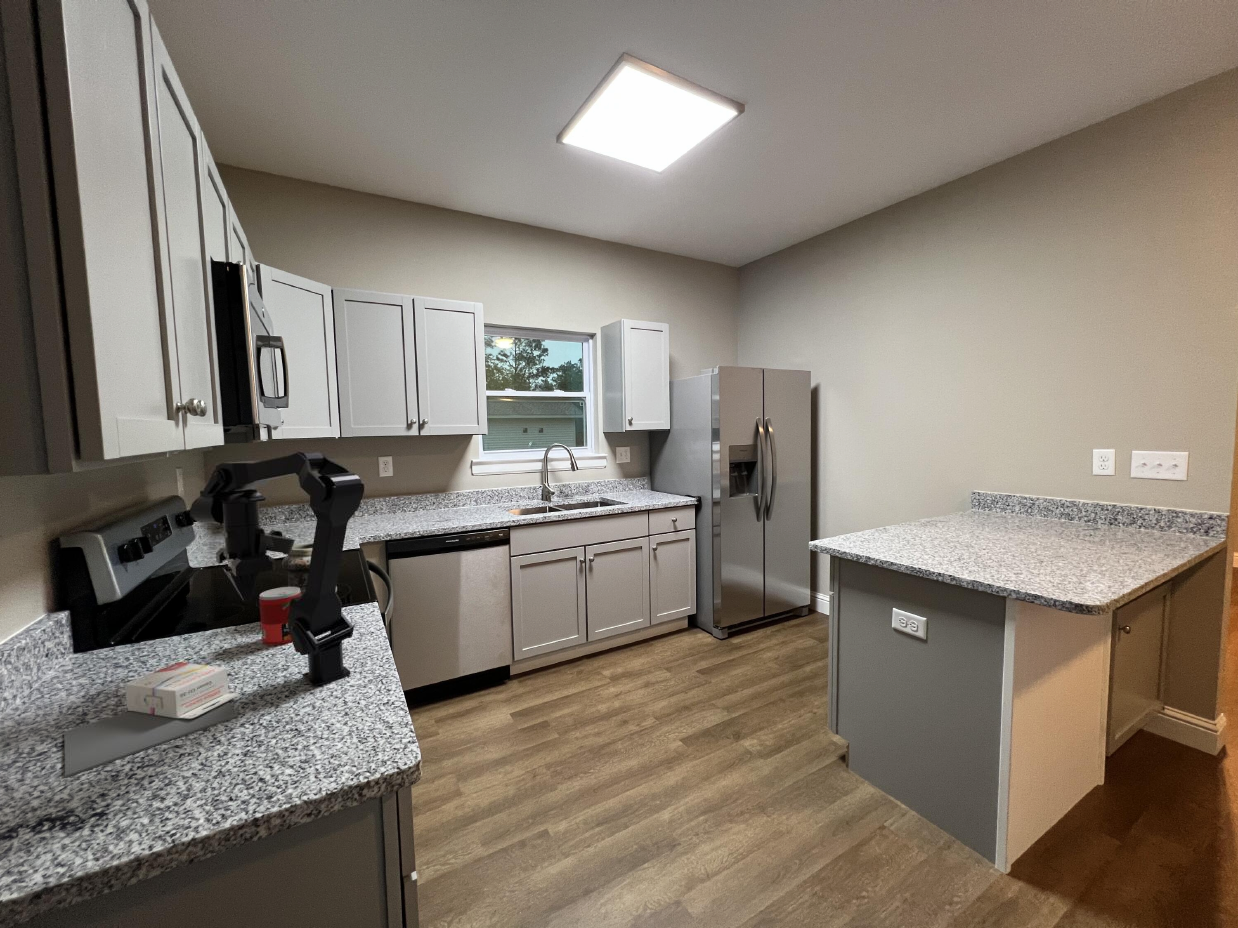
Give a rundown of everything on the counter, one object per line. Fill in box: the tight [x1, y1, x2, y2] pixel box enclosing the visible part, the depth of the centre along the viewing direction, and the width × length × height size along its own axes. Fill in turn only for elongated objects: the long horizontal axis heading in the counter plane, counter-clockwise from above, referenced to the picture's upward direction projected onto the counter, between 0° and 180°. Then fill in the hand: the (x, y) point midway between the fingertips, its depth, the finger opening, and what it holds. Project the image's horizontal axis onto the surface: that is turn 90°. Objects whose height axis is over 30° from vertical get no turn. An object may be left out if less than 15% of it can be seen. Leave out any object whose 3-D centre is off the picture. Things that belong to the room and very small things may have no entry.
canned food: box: [258, 586, 301, 646], centre depth 114 cm, size 8×8×11 cm
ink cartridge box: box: [124, 661, 240, 719], centre depth 86 cm, size 9×5×15 cm
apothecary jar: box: [281, 541, 338, 595], centre depth 130 cm, size 12×12×18 cm
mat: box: [64, 700, 239, 778], centre depth 80 cm, size 16×19×1 cm
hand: (247, 601), depth 101 cm, fingers closed
